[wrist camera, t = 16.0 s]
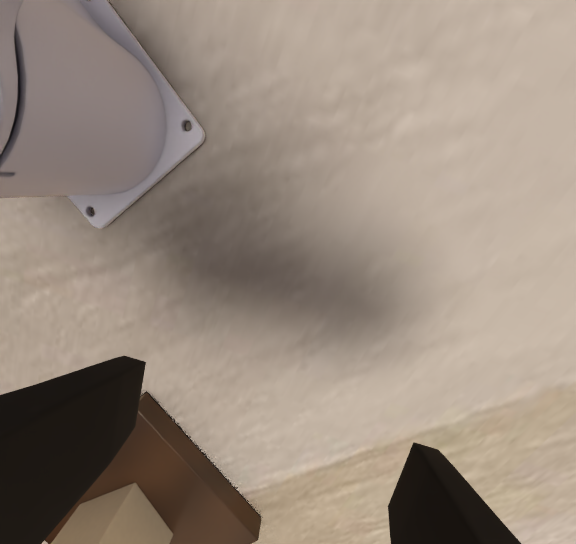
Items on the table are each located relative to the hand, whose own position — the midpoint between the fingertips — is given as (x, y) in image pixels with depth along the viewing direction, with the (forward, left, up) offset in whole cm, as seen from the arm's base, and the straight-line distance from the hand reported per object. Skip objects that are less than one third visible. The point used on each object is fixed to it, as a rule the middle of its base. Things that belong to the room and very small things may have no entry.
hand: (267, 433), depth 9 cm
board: (+6, -18, -10) cm, 21 cm away
